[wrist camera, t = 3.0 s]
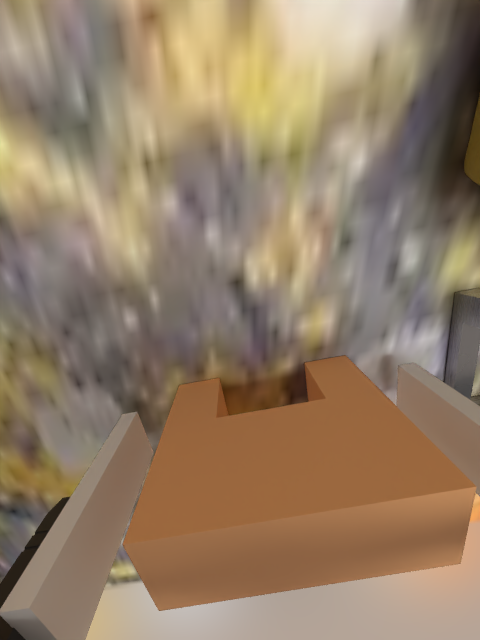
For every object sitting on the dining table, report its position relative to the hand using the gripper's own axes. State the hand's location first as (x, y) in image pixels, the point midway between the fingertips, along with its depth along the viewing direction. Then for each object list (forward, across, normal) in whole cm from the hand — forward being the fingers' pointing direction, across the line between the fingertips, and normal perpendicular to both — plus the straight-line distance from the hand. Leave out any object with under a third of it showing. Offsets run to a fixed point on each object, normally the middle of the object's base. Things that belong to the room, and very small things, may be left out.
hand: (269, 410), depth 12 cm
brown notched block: (+1, 0, 0) cm, 1 cm away
